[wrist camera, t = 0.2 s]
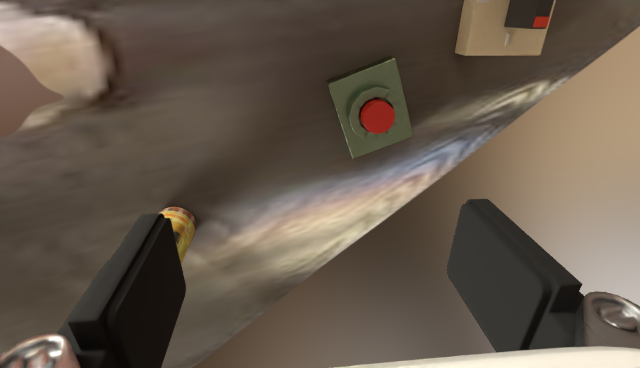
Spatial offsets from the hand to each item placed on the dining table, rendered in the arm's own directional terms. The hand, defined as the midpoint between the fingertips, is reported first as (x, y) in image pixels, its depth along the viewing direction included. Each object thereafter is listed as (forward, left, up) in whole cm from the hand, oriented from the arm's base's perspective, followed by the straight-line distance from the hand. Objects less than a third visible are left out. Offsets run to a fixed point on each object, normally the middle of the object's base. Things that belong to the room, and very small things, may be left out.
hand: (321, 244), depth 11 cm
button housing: (+5, +11, -37) cm, 38 cm away
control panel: (-8, +27, -37) cm, 46 cm away
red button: (+5, +11, -33) cm, 35 cm away
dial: (-8, +27, -34) cm, 44 cm away
